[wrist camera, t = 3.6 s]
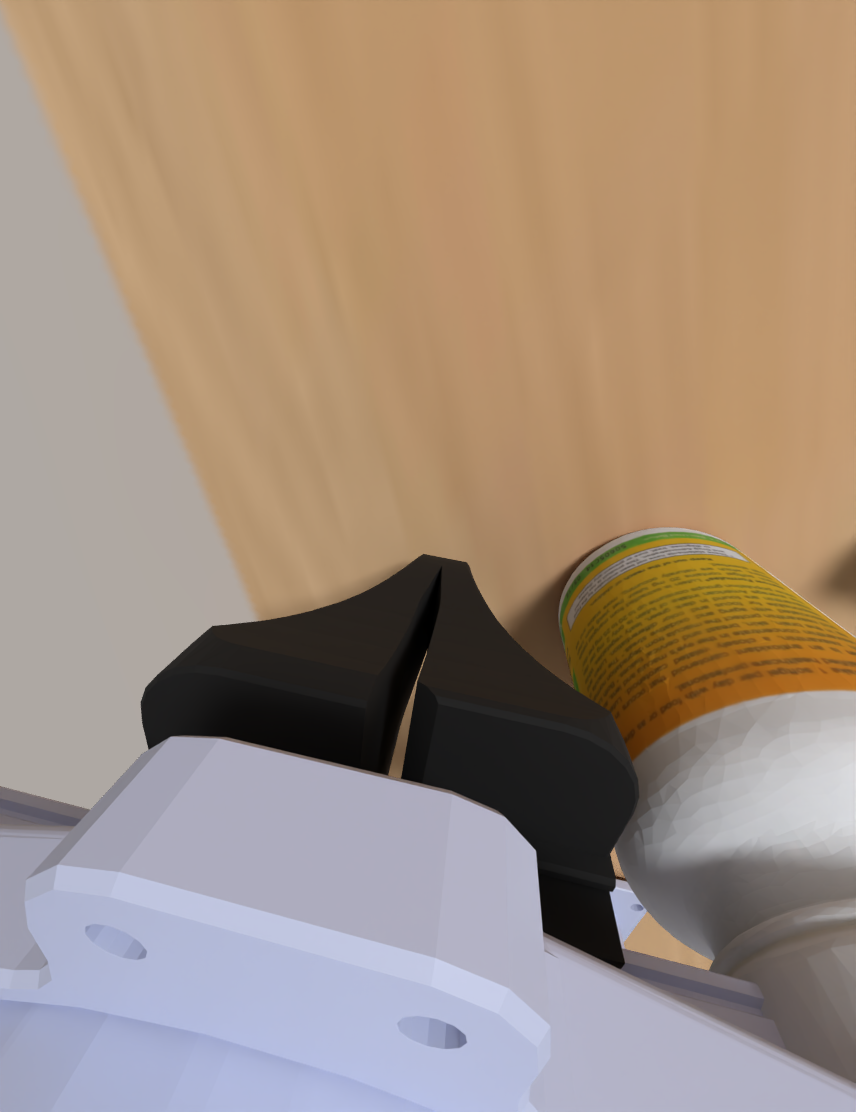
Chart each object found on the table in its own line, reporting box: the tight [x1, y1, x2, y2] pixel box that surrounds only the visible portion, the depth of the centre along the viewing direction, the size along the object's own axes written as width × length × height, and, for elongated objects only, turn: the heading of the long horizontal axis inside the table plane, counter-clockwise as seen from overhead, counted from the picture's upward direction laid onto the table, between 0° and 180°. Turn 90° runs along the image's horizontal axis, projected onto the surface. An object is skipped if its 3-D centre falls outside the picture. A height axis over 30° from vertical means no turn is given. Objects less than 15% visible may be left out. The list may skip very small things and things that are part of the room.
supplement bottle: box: [558, 527, 856, 1083], centre depth 8 cm, size 5×5×10 cm
